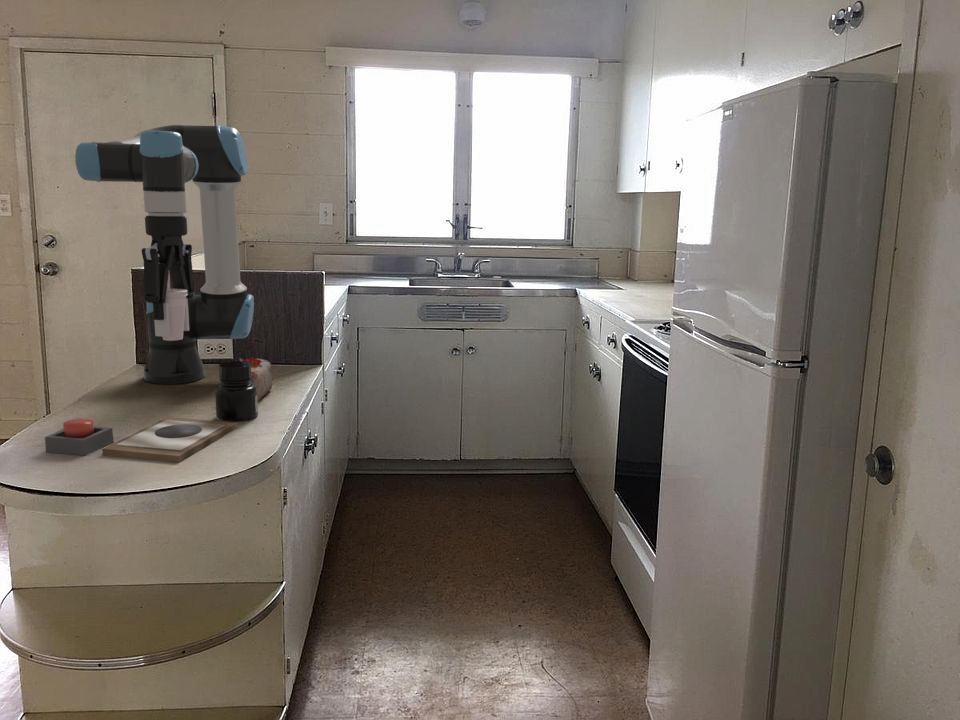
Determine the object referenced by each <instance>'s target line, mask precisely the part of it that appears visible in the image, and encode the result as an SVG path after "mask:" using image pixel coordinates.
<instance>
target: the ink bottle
mask: <svg viewBox="0 0 960 720" xmlns="http://www.w3.org/2000/svg"><path fill="white" fill-rule="evenodd" d="M218 371H219V382H220V383H219V385H218V386H217V387H216V388H215V391H214V393H215V395H214V397H215V399H214V400H215V414H216V415H215V416H216V418H217V419H218V420H219V421H220V420H221V421H223V422H242V421H243V422H245V421H248V420H252V419H254V418H256V417H257V416H258V414H259V407H258V405H259V401H258V398H257V388H256V386H255V385H253V384H252V382H250V381H251V379H252V378H251V363H249V362H244V361H240V360H237V361H235V360H233V361H225V362H222V363H219V365H218Z"/></svg>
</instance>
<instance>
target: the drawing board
mask: <svg viewBox="0 0 960 720" xmlns="http://www.w3.org/2000/svg"><path fill="white" fill-rule="evenodd" d="M237 427H238V426H237V422H233V421H220V420H219V421H218V420H206V419H205V420H204V419H193V418H181V417H169V416H167V417H166V418H164V419H161V420H159V421H157V422H155V423H153V424H151V425H149V426H147V427H145V428H143V429H141V430H138V431H137V432H135V433H134V432H133V433H132V434H130V435H128V436H126V437H123V438H121V439H120V440H118V441H116V442H115V441H114V442H113V443H111V444H109V445H107V446H104V447H102V448H101V449H102V455H103V456H108V457H109V456H110V457H111V456H112V457H123V458H132V459H134V458H135V459H143V460H155V461H166V462H176V463H181V462H183V461H184V460H186V459H187V458H189V457H190V456H193V455H194V454H196V453H197V452H199V451H201V450H203V449H204V448H206V447H208V446H210V445H211V444H212V443H214V442H216V441H218V440H219V439H221V438H223V437H224V436H226V435H228V434H230V433H231V432H233V431H234V430H236V429H237Z"/></svg>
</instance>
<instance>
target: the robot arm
mask: <svg viewBox="0 0 960 720" xmlns="http://www.w3.org/2000/svg"><path fill="white" fill-rule="evenodd" d="M74 155H75V156H74V157H75V159H74V160H75V161H74V163H75V167H76V171H77V173H78V175H79V177H80V178H81V179H82V180H83V181H88V182H89V181H90V182H91V181H92V182H97V183H101V182H115V183H116V182H118V183H121V182H122V183H125V182H126V183H129V182H130V183H131V182H132V183H133V182H134V183H142V191H143V205H144V207H143V208H144V212H145V213H147V214H148V215H145V217H144V225H145V227H144V229H145V233H146V235H147V236H150V237H151V243H150V246H149V247H147V248H145V247H143V248H141V255H142V259H143V260H142V261H143V286H144V288H143V289H144V290H143V294H144V295H143V296H144V297H143V298H144V300H145V301H146V312H145V313H146V320H147V321H146V322H147V332H148V333H147V334H148V335H147V336H148V337H147V338H148V349H149V350H148V354H147V357H146V361H145V365H144V369H143V380H144V381H145V382H147V383H151V384H161V385H163V384H164V385H171V384H173V385H174V384H186V383H191V382H195V381H199V380H202V379H203V378H205V376H206V371H205V366H204V364H203V361H202V358H201V356H200V354H199V351H198V349H197V340H208V339H209V340H220V339H221V340H236V339H245V338H247V337H248V336H249V334H250V332H251V330H252V325H253V320H254V311H255V300H254V299H255V297H254V295H252V294H250V293H248V288H247V286H246V285H245V284H244V283H242V280H241V269H240V267H241V265H240V251H239V233H238V232H239V231H238V230H239V229H238V217H237V215H238V214H237V196H236V195H237V194H236V193H237V192H236V189H237V188H238V187H239V185H240V184H241V183H242V177H243V176H246V175H247V173H248V160H247V154H246V148H245V143H244V140H243V137H242V136H241V134H240V131H238V130H237V129H236V128H235V127H232V126H222V125H191V124H190V125H187V124H186V125H182V124H170V125H164V126H160V127H158V126H157V127H154V128H150V129H147V130H146V129H145V130H141V131H140V132H139V131H138V133H136V134H135V136H134V137H129V138H124V139H117V140H114V141H109V142H108V141H107V142H96V141H92V142H89V141H88V142H80V143H79V144H78V145H77V147H76V149H75V154H74ZM190 181H192V183H193V184H194V185H195V186H197V188H198V190H199V197H200V198H199V199H200V201H199V203H200V212H201V213H200V215H201V227H202V228H201V229H202V230H201V231H202V242H203V256H204V257H203V258H204V271H205V272H204V273H205V274H204V275H205V283H204V284H203V286H202V287H201V288H199V289H200V294H195V285H194V284H195V282H194V273H193V272H194V271H193V261H192V250H193V246H192V245H191V244H185V243H184V241H183V237H184V236H186V235H188V221H187V220H188V219H187V217H186V215H184V214H186V213H187V201H186V200H187V199H186V188H185V187H186V183H188V182H190ZM169 273H170V279H171V282H172V285H173V289H185V290H187V293H188V295H187V296H186V305H185V318H184V331H183V339H182V340H175V341H167V340H163V337H169V336H170V323H169V306H168V303H165V299H166V291H167V283H168V274H169Z"/></svg>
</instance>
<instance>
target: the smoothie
mask: <svg viewBox="0 0 960 720" xmlns="http://www.w3.org/2000/svg"><path fill="white" fill-rule="evenodd" d="M187 295H188V293H187V290H185V289H174V288H171V274H170V272H169V274H168V283H167V291H166V299H165V303H168V306H169V323H170V336H169V337H163V340H167V341H175V340H182V339H183V331H184V318H185V305H186V296H187Z"/></svg>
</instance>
